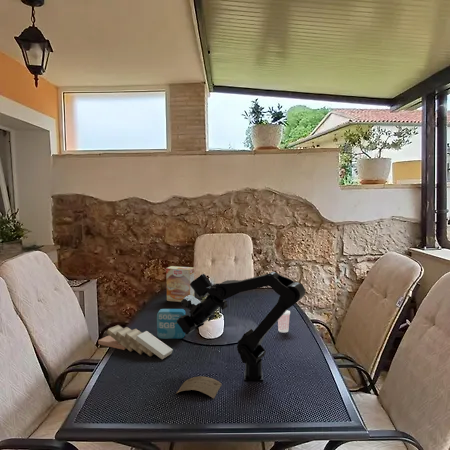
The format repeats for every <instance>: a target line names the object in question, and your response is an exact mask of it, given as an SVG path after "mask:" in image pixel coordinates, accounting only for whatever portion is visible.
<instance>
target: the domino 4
mask: <svg viewBox="0 0 450 450" xmlns="http://www.w3.org/2000/svg"><path fill="white" fill-rule="evenodd" d="M136 341H138V342H139V343H140V344H142V345H143V346H145V347H146V348H147V349H149V350H150V351H151V352H153V353H154V355H155V356H157V357H158V358H159V359H161V360H164V359H166V358H167V357H169V356H170V355H172V353H173V350H174V349H173V348H171V347H170V346H169V345H167V344H166V343H164V342H163V341H161V340H160V338H158V337H156V336H154V335H153V333H150V332H149V331H148V330H145V331H143V332H141V334H139V335H137V337H136Z"/></svg>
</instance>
